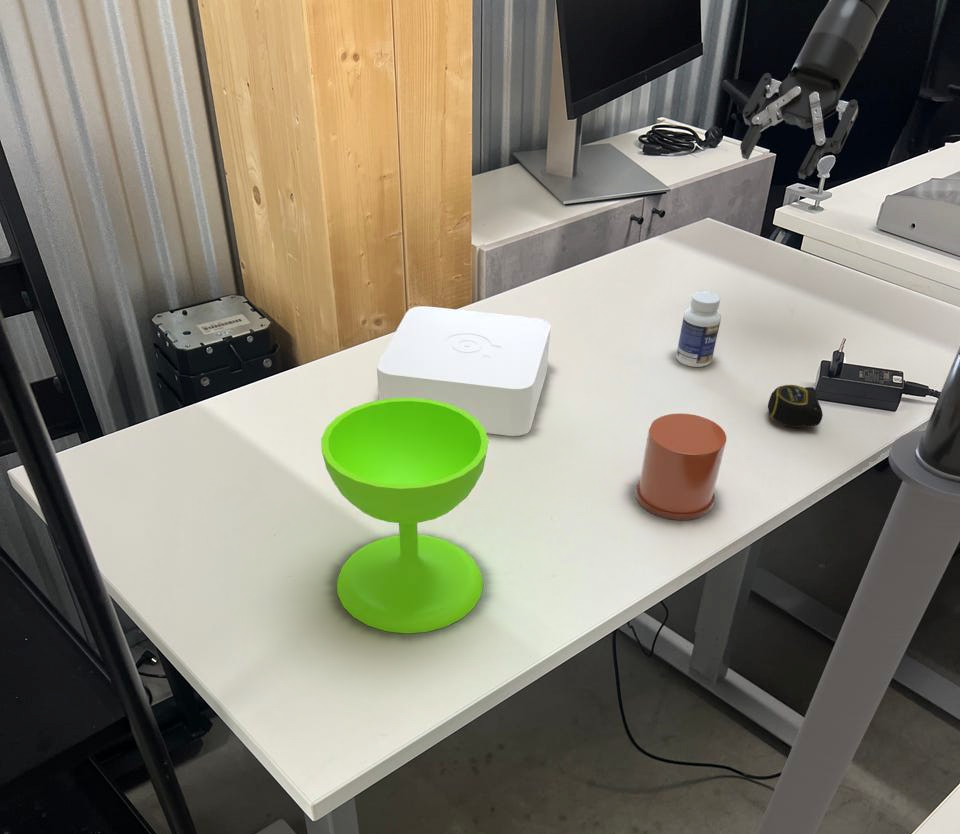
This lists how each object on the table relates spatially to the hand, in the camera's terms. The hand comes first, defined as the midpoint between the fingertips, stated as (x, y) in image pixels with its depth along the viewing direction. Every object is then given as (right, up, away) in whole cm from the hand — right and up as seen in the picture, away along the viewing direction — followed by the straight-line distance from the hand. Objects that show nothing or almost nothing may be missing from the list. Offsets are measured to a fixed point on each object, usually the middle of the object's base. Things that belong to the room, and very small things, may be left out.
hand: (772, 166), depth 126 cm
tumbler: (-16, -47, -12) cm, 51 cm away
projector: (-42, -29, +5) cm, 52 cm away
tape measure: (+4, -34, +2) cm, 34 cm away
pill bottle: (-8, -22, +14) cm, 27 cm away
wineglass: (-48, -59, -25) cm, 80 cm away
